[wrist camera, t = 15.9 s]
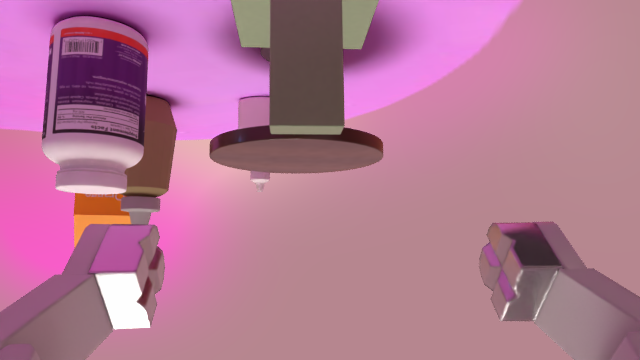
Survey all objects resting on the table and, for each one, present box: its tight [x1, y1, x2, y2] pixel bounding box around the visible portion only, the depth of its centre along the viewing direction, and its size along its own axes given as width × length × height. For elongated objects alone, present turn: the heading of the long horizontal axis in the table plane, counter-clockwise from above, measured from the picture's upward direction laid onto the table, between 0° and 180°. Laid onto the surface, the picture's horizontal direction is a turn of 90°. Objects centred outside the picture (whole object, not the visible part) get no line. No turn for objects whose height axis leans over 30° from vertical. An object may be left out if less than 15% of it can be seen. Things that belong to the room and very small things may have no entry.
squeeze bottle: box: [119, 96, 177, 225], centre depth 62 cm, size 8×8×18 cm
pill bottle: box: [42, 16, 148, 194], centre depth 43 cm, size 8×8×14 cm
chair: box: [231, 0, 379, 135], centre depth 28 cm, size 8×8×14 cm
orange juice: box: [74, 193, 131, 247], centre depth 71 cm, size 8×9×20 cm
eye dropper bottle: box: [238, 97, 270, 192], centre depth 62 cm, size 4×6×12 cm
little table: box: [210, 47, 383, 173], centre depth 46 cm, size 16×16×11 cm
